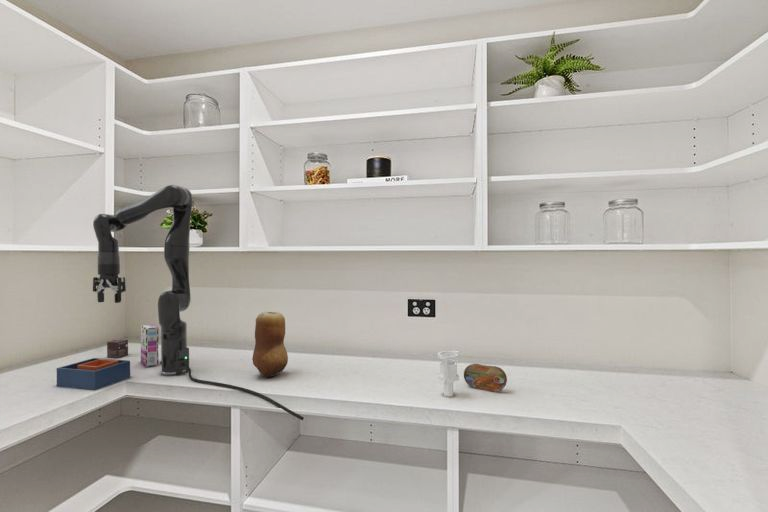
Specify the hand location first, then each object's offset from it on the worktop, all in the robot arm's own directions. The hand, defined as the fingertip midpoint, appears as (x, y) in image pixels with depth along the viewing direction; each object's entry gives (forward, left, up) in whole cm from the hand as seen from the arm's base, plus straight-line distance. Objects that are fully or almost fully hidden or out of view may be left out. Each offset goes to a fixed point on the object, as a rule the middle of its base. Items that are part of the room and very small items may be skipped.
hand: (109, 302), depth 165 cm
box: (+17, -19, -28) cm, 38 cm away
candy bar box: (-8, -12, -28) cm, 32 cm away
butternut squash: (-68, -9, -28) cm, 74 cm away
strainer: (-138, -4, -28) cm, 141 cm away
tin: (-150, -13, -28) cm, 153 cm away
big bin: (-8, +13, -28) cm, 32 cm away
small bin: (-9, +12, -28) cm, 31 cm away
